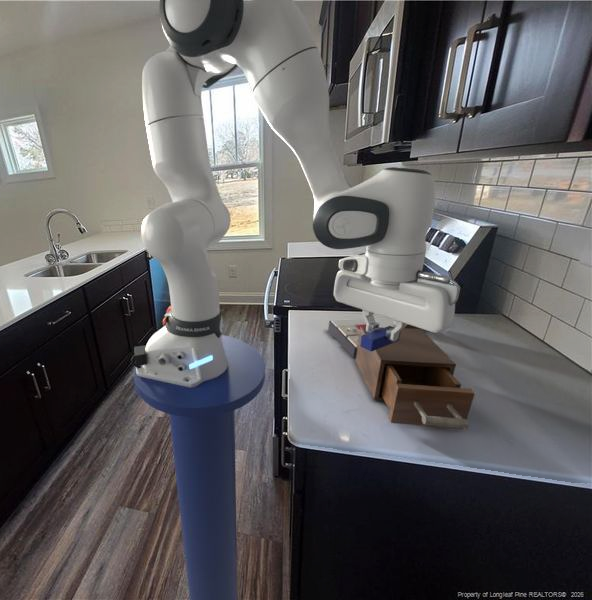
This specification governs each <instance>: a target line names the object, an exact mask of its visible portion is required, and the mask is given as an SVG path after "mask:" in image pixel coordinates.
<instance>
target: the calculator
mask: <svg viewBox="0 0 592 600" xmlns="http://www.w3.org/2000/svg"><path fill="white" fill-rule="evenodd" d="M366 325H367V323H366V322H365V320H364V317H358V318H345V319H344V318H343V319H332V320H329V321H328V328H327V333H328V334H329V335H330V336H331V337H332V338H335V340H336V341H337V342H338V343H339V344H340V345H341V346H342V347H343V349H344V350H345V351H346V352H347V353H348V354H349V356H351V358H353V359H355V360H356V355H357V348H358V341H359V334H360V327H366Z"/></svg>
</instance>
